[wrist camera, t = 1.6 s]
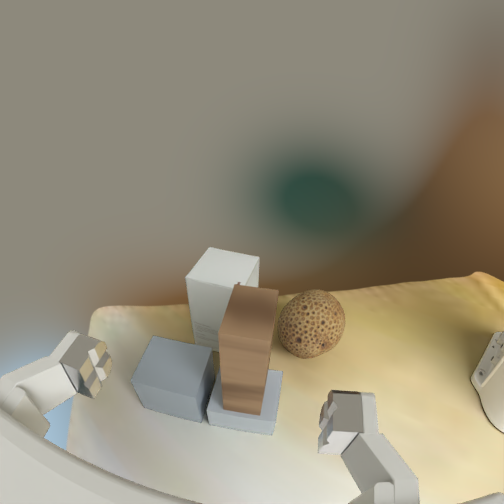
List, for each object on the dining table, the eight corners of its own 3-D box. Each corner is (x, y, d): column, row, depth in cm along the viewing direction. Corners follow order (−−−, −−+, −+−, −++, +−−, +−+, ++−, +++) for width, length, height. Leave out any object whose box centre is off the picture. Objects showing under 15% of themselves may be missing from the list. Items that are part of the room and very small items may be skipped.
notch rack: (272, 435, 31) (278, 412, 27) (144, 407, 33) (130, 380, 29) (279, 388, 37) (285, 359, 33) (162, 366, 39) (153, 335, 35)
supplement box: (257, 324, 46) (262, 256, 39) (241, 360, 40) (243, 291, 34) (212, 312, 48) (209, 244, 41) (192, 345, 42) (183, 276, 35)
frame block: (260, 415, 29) (270, 341, 22) (222, 409, 30) (217, 332, 23) (267, 372, 34) (278, 290, 27) (234, 367, 35) (233, 284, 28)
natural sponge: (324, 382, 37) (343, 334, 32) (263, 361, 40) (269, 310, 35) (340, 336, 44) (357, 287, 39) (286, 319, 47) (294, 268, 42)
